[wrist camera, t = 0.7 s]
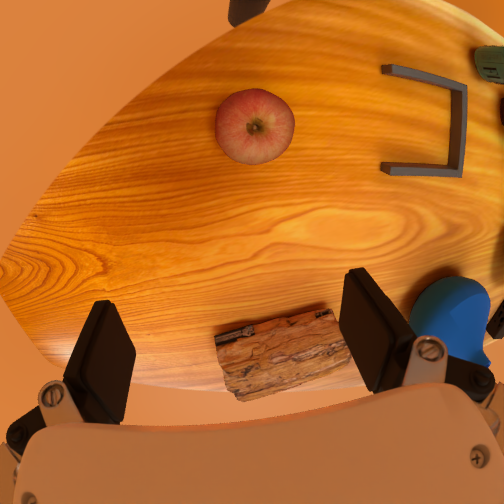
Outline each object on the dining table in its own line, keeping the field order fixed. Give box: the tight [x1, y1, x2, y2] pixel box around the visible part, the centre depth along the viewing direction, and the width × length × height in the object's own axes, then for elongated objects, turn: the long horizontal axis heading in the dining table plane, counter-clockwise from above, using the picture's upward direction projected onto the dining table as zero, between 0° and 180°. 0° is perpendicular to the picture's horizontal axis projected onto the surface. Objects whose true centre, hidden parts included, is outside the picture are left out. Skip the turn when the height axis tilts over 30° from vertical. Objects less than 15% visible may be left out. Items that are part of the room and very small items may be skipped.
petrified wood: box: [214, 309, 352, 402], centre depth 43 cm, size 19×13×10 cm
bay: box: [381, 64, 467, 178], centre depth 30 cm, size 14×14×2 cm
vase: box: [409, 276, 491, 368], centre depth 40 cm, size 18×18×19 cm
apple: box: [215, 89, 295, 165], centre depth 27 cm, size 8×8×8 cm
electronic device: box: [486, 301, 504, 339], centre depth 55 cm, size 7×11×5 cm
